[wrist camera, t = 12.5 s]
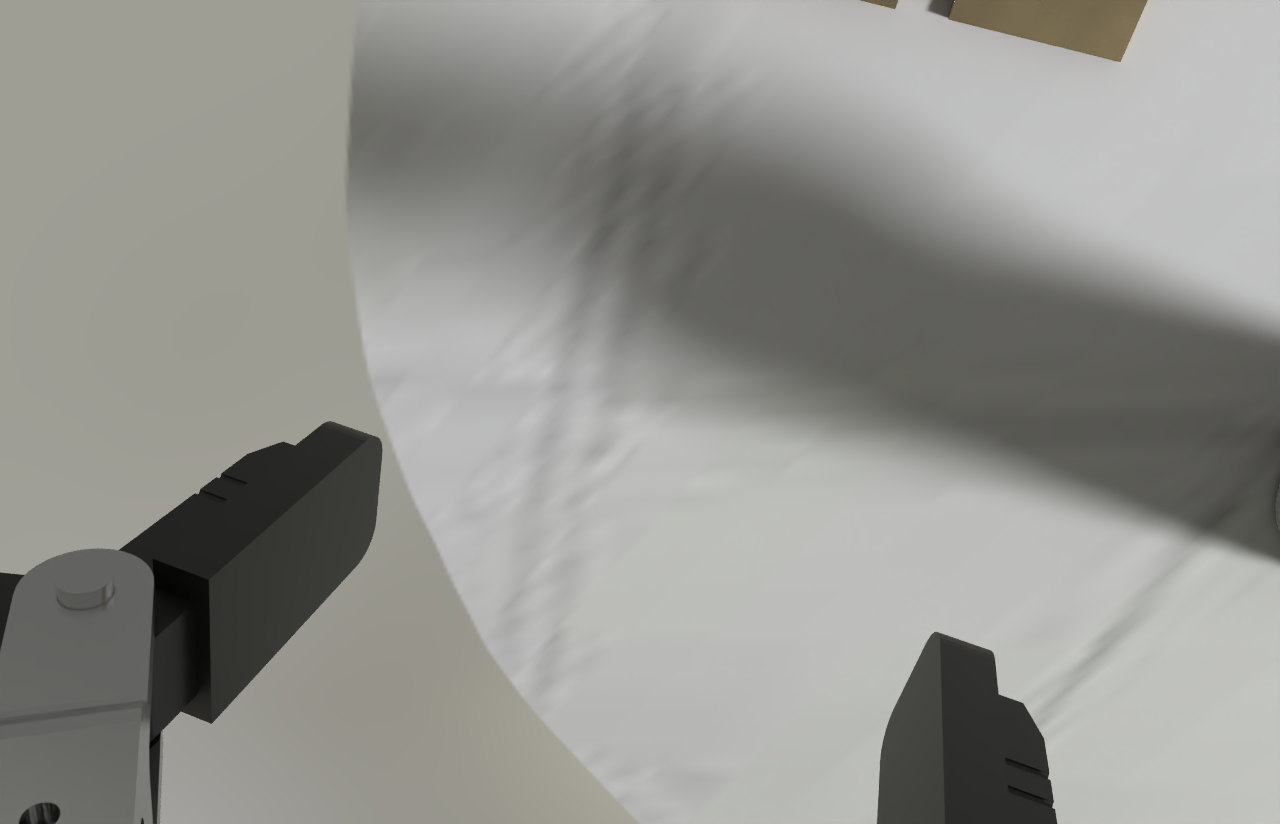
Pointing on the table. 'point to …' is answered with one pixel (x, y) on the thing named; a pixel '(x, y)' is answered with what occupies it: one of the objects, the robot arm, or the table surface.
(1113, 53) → the hinge base
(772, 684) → the table surface
